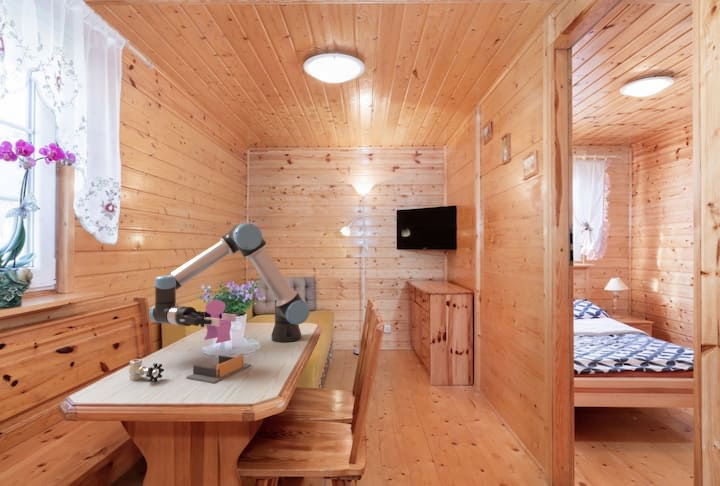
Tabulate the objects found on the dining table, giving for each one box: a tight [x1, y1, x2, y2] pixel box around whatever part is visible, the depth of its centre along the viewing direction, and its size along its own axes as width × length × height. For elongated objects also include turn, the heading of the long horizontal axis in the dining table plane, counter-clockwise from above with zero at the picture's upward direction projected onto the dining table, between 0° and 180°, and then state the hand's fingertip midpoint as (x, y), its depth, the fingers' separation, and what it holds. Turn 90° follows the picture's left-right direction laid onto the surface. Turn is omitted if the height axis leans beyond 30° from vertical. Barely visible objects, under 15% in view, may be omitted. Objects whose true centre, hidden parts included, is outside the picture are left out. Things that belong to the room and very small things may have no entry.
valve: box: [128, 358, 165, 383], centre depth 131 cm, size 7×7×12 cm
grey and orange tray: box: [185, 354, 252, 384], centre depth 139 cm, size 20×13×5 cm, turn 158°
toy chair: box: [204, 299, 232, 344], centre depth 140 cm, size 8×9×15 cm
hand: (227, 320), depth 138 cm, fingers closed on toy chair, 8 cm apart
